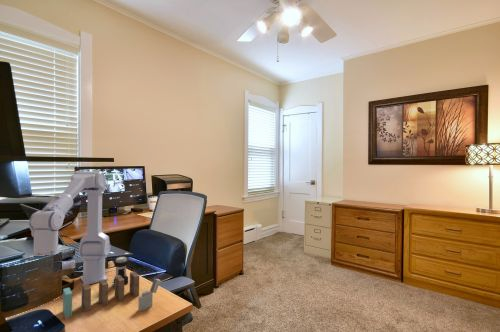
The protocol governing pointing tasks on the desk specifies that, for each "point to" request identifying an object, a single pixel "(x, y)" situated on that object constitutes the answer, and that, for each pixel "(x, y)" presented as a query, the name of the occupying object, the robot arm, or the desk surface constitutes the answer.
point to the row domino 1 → (86, 297)
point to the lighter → (148, 296)
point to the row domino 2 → (103, 292)
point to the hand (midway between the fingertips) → (45, 297)
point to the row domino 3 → (119, 288)
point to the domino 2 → (134, 284)
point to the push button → (121, 269)
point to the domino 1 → (67, 302)
